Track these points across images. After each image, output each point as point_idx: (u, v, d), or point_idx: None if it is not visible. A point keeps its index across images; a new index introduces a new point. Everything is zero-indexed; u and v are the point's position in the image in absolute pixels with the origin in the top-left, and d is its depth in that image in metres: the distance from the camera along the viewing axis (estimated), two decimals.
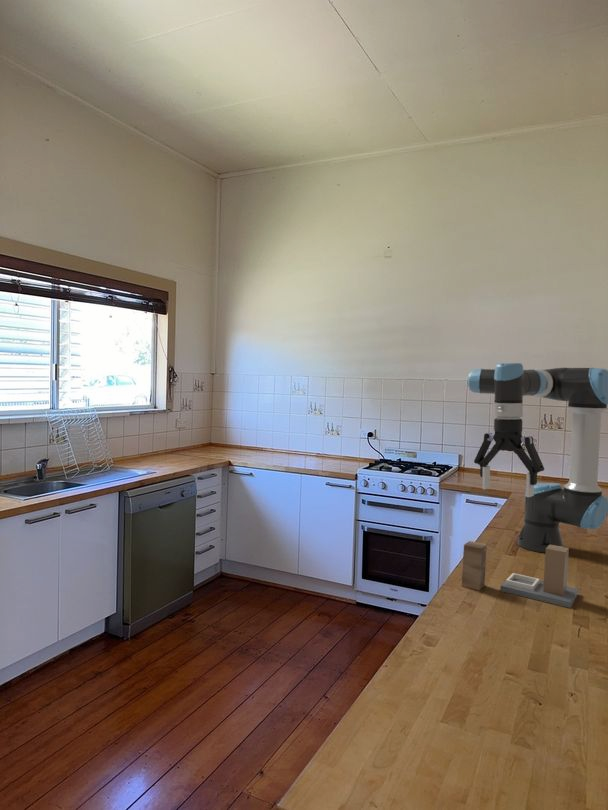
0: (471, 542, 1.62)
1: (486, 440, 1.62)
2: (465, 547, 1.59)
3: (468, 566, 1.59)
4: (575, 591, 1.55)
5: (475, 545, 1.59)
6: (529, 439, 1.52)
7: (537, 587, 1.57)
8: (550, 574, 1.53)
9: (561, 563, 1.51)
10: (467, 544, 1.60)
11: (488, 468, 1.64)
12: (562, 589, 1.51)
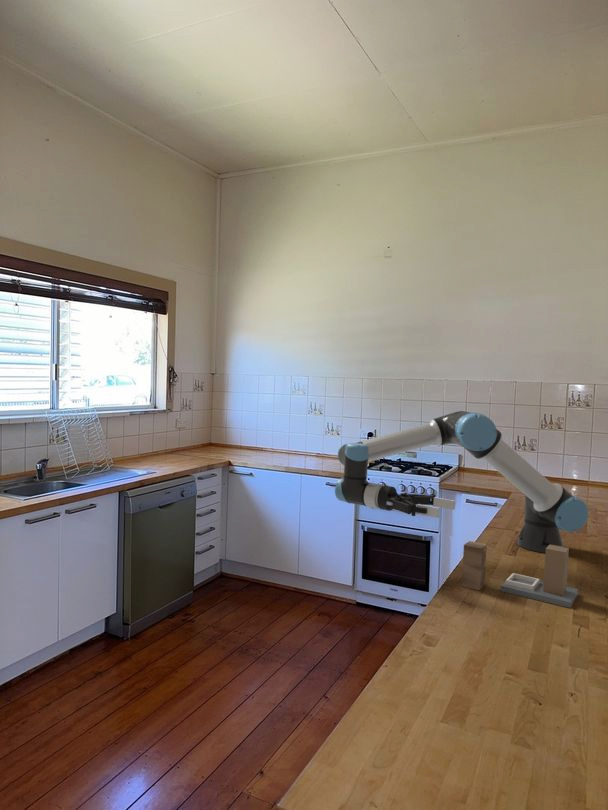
0: (471, 542, 1.62)
1: None
2: (465, 547, 1.59)
3: (468, 566, 1.59)
4: (575, 591, 1.55)
5: (474, 545, 1.59)
6: (387, 505, 1.67)
7: (537, 587, 1.57)
8: (550, 574, 1.53)
9: (561, 563, 1.51)
10: (467, 544, 1.60)
11: (435, 500, 1.73)
12: (562, 589, 1.51)
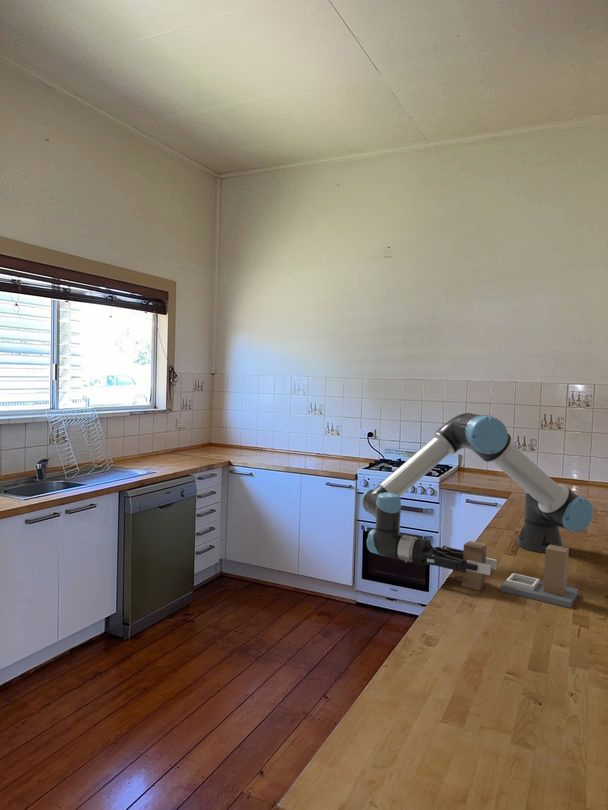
0: (471, 542, 1.62)
1: None
2: (465, 547, 1.59)
3: None
4: (575, 591, 1.55)
5: (474, 545, 1.59)
6: (429, 563, 1.61)
7: (537, 587, 1.57)
8: (550, 574, 1.53)
9: (561, 563, 1.51)
10: (467, 544, 1.60)
11: None
12: (562, 589, 1.51)
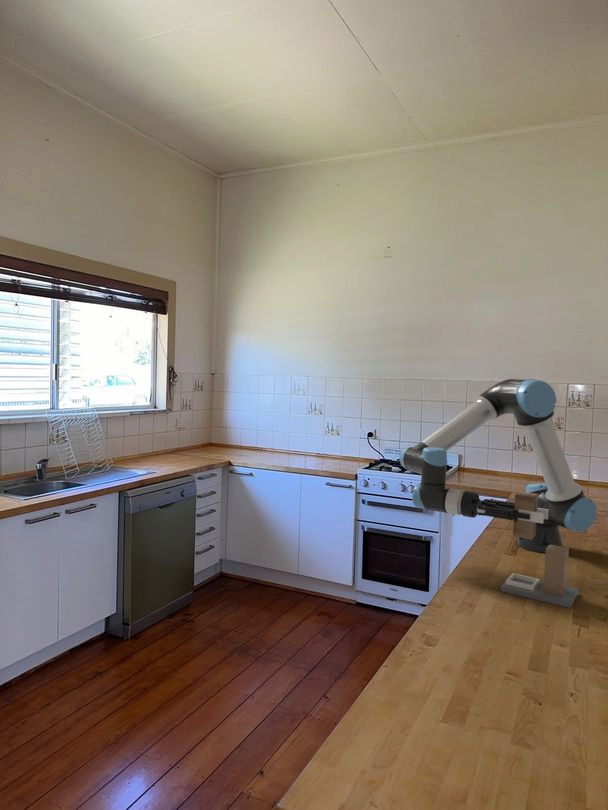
0: (522, 492, 1.60)
1: None
2: (516, 496, 1.57)
3: None
4: (575, 591, 1.55)
5: (526, 494, 1.58)
6: (480, 513, 1.59)
7: (537, 587, 1.57)
8: (550, 574, 1.53)
9: (561, 563, 1.51)
10: (518, 494, 1.58)
11: None
12: (562, 589, 1.51)
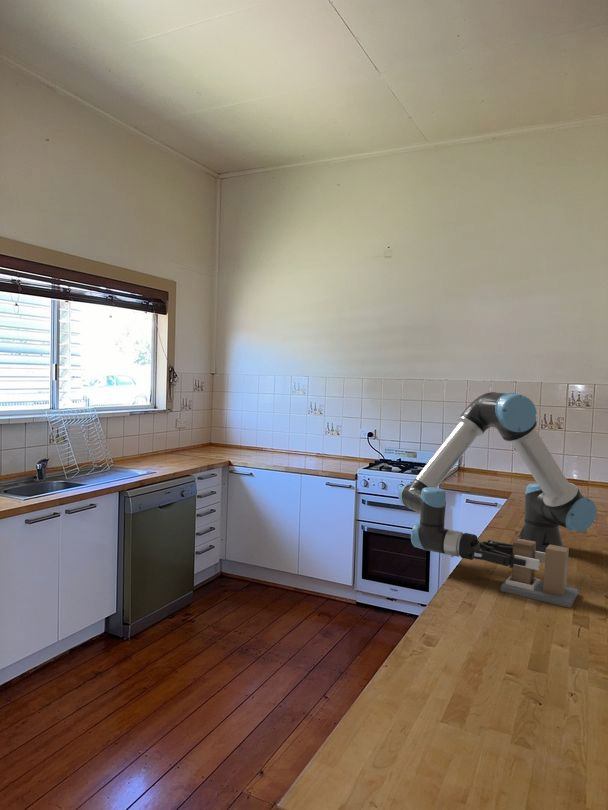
0: (520, 539, 1.61)
1: None
2: (514, 544, 1.58)
3: None
4: (575, 591, 1.55)
5: (524, 542, 1.58)
6: (476, 557, 1.60)
7: (537, 587, 1.57)
8: (550, 574, 1.53)
9: (561, 563, 1.51)
10: (516, 541, 1.59)
11: None
12: (562, 589, 1.51)
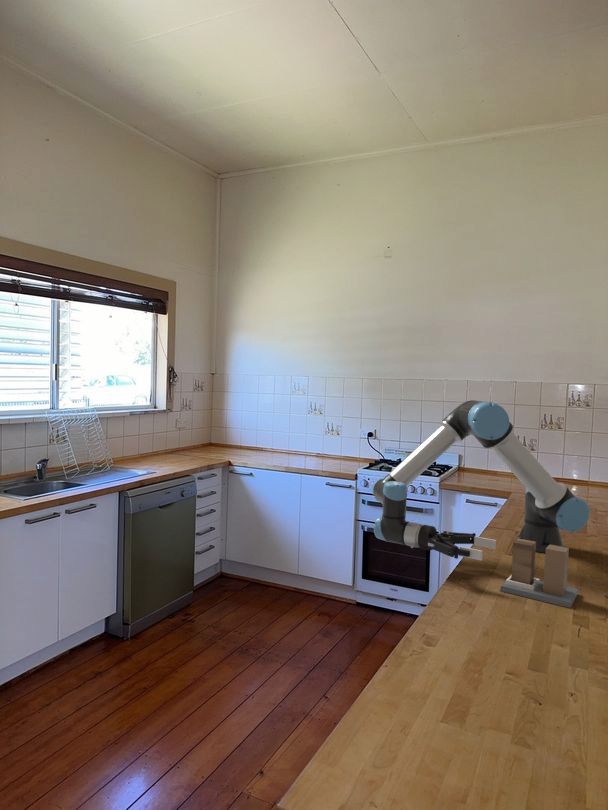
0: (520, 539, 1.61)
1: None
2: (514, 544, 1.58)
3: (517, 563, 1.58)
4: (575, 591, 1.55)
5: (524, 542, 1.58)
6: (429, 546, 1.68)
7: (537, 587, 1.57)
8: (550, 574, 1.53)
9: (561, 563, 1.51)
10: (516, 541, 1.59)
11: (476, 539, 1.73)
12: (562, 589, 1.51)
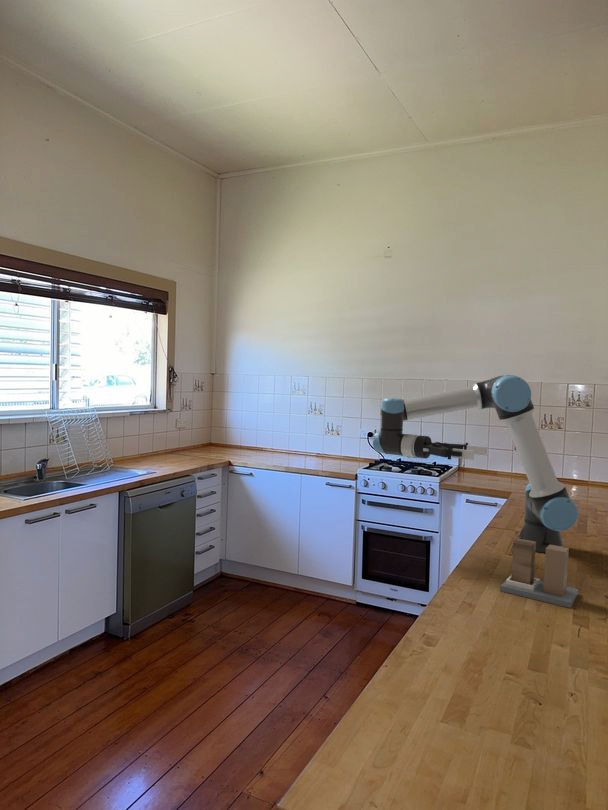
0: (520, 539, 1.61)
1: None
2: (514, 544, 1.58)
3: (517, 563, 1.58)
4: (575, 591, 1.55)
5: (524, 542, 1.58)
6: (424, 451, 1.80)
7: (537, 587, 1.57)
8: (550, 574, 1.53)
9: (561, 563, 1.51)
10: (516, 541, 1.59)
11: (468, 447, 1.85)
12: (562, 589, 1.51)
